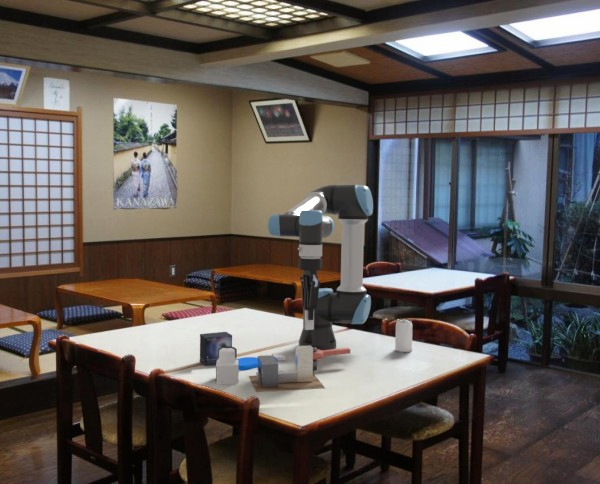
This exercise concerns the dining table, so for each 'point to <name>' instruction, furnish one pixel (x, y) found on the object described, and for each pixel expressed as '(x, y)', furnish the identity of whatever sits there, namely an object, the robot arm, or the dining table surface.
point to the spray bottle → (254, 362)
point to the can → (403, 335)
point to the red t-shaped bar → (328, 352)
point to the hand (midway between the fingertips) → (309, 329)
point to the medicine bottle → (227, 366)
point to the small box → (213, 346)
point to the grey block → (268, 371)
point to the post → (314, 365)
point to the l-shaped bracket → (297, 367)
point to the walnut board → (288, 385)
